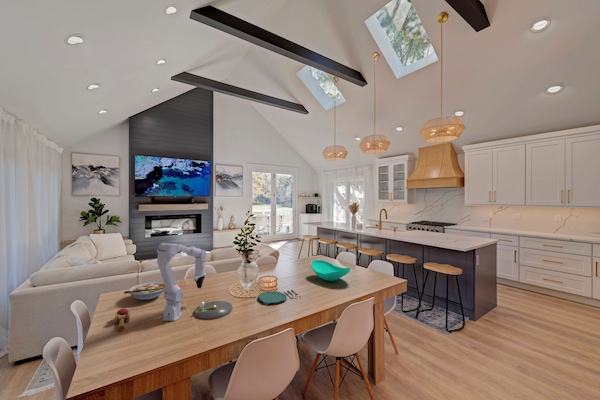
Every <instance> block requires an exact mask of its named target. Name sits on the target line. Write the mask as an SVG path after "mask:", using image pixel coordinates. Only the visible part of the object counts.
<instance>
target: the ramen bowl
mask: <svg viewBox="0 0 600 400" xmlns="http://www.w3.org/2000/svg"><path fill="white" fill-rule="evenodd" d="M165 288H166V287H165V284H164V281H161V282H160V281H151V282H145V283H141V284H137V285H134V286H132V287H130V288H129V290H127V291H125V290H124V292H123V293H124V294H130V295H131V296H132V298H134V299H136V300H143V301H149V300H153V299H156V298H157V297H159V296H160V295H162V294H164V289H165ZM124 294H123V295H124Z"/></svg>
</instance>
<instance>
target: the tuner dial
mask: <svg viewBox="0 0 600 400" xmlns="http://www.w3.org/2000/svg"><path fill="white" fill-rule="evenodd" d="M212 305H217V308H216V309H207V310H204V311H197V309H200V305H198V306H196V307H195V309H194V316H195V317H196V318H198V319H199V320H200V319H201V320H216V319H221V318H224V317H226V316H229V314H231V312H232V311H233V305H232V303H230V302H228V301H224V300H214V301H208V302H204V308H208V307H211V306H212Z"/></svg>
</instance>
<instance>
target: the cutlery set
mask: <svg viewBox="0 0 600 400" xmlns="http://www.w3.org/2000/svg"><path fill="white" fill-rule="evenodd" d="M286 291H287V292H288V293H287V292H285V291H283V292H282V291H276V290H275V291H274V290H273V291H266V292H261V293H259V295H257V299H258V300H259V302H262V303H263V304H264V305H265V306H269V304H271V305H272V304H273V305H274V304H279V303H283V302H286V301H287V299H288V298H289V297H290V298H289V299H291V300H293V297H294V296H293V295H294V294H295V296H296V295H300V294H299V293H297V292H296V291H295V290H293V289H290V290H288V289H287V290H286ZM292 291H293V292H294V293H293V292H292ZM291 292H292V293H291ZM284 293H285V294H284ZM289 294H290V295H289ZM291 294H292V295H291ZM287 295H288V296H289V297H288V296H287ZM292 296H293V297H292Z"/></svg>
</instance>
